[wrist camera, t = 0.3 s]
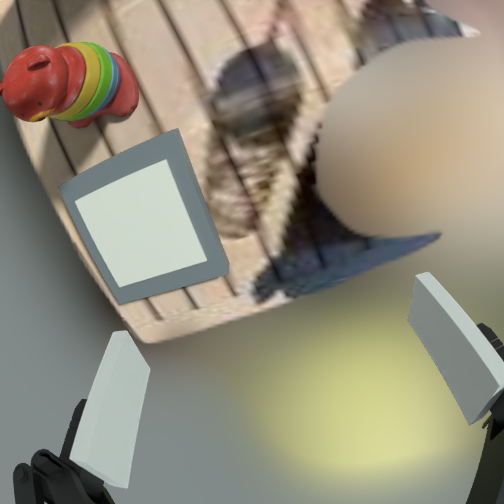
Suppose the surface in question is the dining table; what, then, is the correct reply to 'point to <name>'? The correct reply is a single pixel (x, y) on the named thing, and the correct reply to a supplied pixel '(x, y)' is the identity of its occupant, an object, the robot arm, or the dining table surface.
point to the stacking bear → (69, 84)
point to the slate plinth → (146, 220)
